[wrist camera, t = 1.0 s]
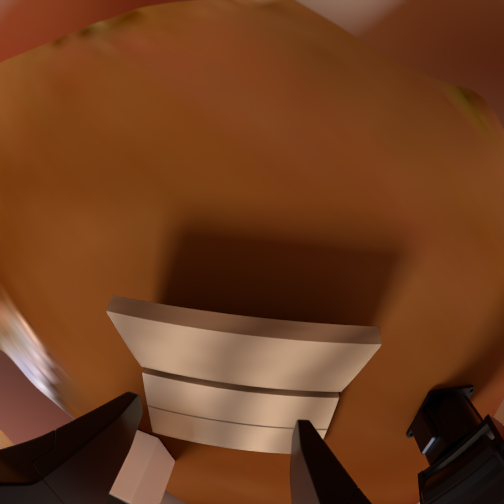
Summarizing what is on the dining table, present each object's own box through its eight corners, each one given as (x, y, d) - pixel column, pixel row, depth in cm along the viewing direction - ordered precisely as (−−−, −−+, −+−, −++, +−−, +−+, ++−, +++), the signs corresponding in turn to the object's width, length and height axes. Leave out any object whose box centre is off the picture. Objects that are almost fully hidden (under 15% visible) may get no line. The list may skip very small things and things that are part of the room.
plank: (379, 326, 15) (381, 344, 14) (340, 378, 21) (341, 391, 20) (113, 295, 16) (105, 310, 15) (145, 353, 22) (141, 366, 21)
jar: (108, 448, 27) (71, 513, 15) (103, 413, 25) (53, 487, 13) (173, 474, 27) (147, 547, 15) (179, 443, 25) (146, 532, 13)
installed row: (338, 380, 21) (341, 391, 20) (315, 444, 23) (317, 454, 22) (147, 356, 22) (140, 365, 21) (157, 423, 24) (152, 432, 23)
